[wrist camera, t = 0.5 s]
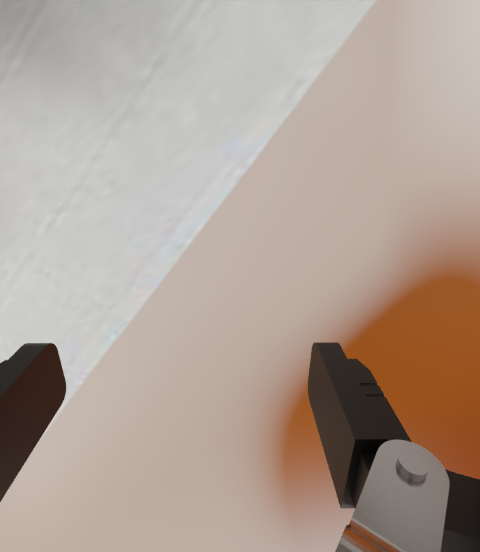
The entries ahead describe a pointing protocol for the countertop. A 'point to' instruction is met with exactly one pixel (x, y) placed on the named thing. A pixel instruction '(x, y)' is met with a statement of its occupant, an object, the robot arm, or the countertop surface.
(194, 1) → the countertop surface
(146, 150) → the countertop surface
